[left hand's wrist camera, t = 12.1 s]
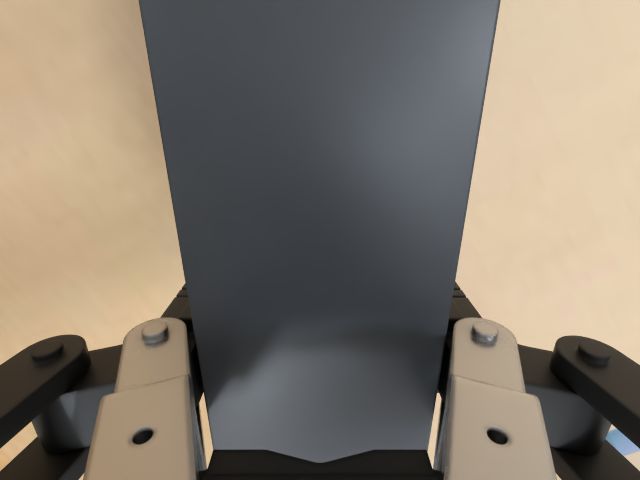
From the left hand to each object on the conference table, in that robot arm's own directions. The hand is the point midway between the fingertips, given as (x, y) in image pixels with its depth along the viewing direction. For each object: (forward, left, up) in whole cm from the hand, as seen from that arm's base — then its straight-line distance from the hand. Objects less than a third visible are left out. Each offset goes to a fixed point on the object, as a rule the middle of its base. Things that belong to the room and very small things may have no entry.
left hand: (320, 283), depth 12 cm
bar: (+7, +6, -4) cm, 10 cm away
